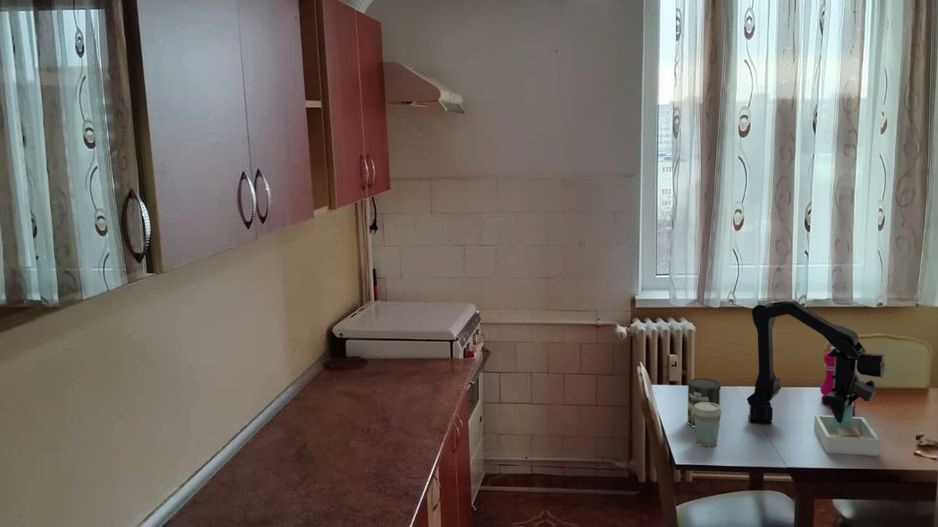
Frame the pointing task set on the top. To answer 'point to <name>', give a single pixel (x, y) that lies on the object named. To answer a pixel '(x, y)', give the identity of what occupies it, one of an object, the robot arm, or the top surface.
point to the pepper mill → (828, 374)
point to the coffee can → (702, 394)
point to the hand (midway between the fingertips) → (842, 420)
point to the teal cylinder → (845, 419)
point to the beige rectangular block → (848, 432)
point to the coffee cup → (707, 423)
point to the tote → (846, 445)
